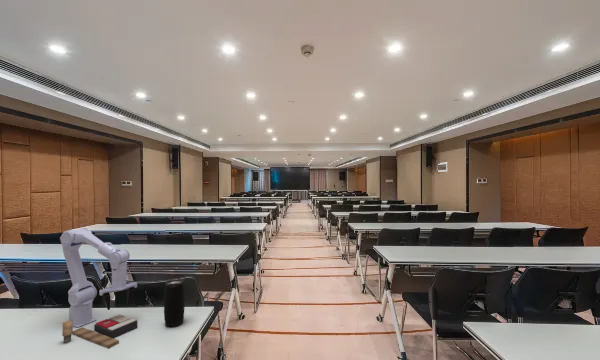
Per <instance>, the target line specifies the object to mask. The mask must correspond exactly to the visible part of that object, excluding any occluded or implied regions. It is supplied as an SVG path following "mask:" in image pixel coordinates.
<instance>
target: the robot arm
mask: <svg viewBox="0 0 600 360" xmlns="http://www.w3.org/2000/svg"><path fill="white" fill-rule="evenodd" d="M59 240H60V243H61V247H62V253H63V256H64V259H65V262H66V267H67V270H68V274H69V276H70V281H71V284H72V286H71V288H70V289H69V290H68V292H67V294H68V298H67V299H68V303H69V304H70V306H69V309H68V320H73V327H75V328H81V327H82V326H85V325H88V324H90V323H92V322H95V321H97V318H94V317H93V301H95V300H94V299H95V298H96V297H97V294H98V290H97V288H96V287H95V286H94V283H93V282H91V281H89V280H87V276H86V273H85V270H84V269H85V268H84V265H83V261H82V259H81V255H80V251H79V249H80V248H81V246H82V245H84V244H85V243H86V244H87V245H89V246H91V247H93V248H95V249H97V252H98V253H99V255H101V256H103V257H105V258H107V259H108V262H109V265H110V268H111V286H110V287H106V288H104V289H99V296H102V297H103V299H104V301H105V304H106V308H107V310H108V311H110V310H111V294H112V293H115V292H116V293H117V292H120V291H125V290H126V305H127V306H130V304H131V299H132V297H133V295H134V293H135V291H136V289H137V288H138V283H137V282H130V283H127V268H128V267H127V261H129V259H130V258H131V257H130V252H129V251H128V249H120V248H119V247H117V246H115V245H113V243H112V242H104V241H103V240H101V239H100V238H98V237H97V236H95V235H94V234H93V233H92V231H91V230H90V229H88V228H86V227H82V228H78V229H70V230H69V229H68V230H65V231H63V232H62V234H61V236H60V237H59Z"/></svg>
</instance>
